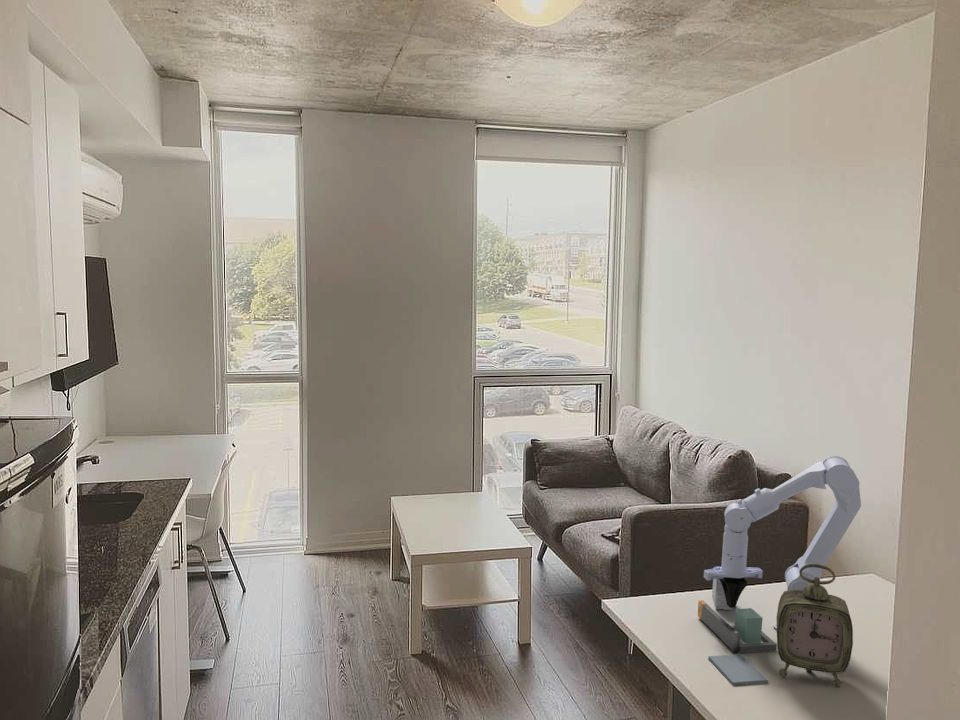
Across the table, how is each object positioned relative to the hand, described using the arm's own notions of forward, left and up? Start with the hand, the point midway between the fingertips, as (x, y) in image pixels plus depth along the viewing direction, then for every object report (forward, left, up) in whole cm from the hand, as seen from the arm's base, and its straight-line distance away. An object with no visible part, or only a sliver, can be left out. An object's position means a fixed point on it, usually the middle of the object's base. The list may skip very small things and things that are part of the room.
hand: (730, 606), depth 186 cm
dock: (0, +9, -5) cm, 10 cm away
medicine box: (-4, -11, -5) cm, 12 cm away
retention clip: (+6, +5, -4) cm, 9 cm away
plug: (0, +9, -5) cm, 10 cm away
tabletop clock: (-5, +25, -5) cm, 26 cm away
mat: (+9, +21, -5) cm, 24 cm away
